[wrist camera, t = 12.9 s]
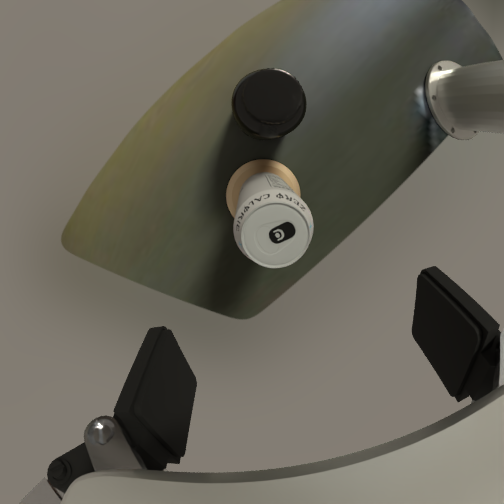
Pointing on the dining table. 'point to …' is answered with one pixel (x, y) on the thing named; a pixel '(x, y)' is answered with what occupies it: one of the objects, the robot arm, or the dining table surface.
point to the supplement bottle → (268, 103)
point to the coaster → (255, 168)
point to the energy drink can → (271, 221)
